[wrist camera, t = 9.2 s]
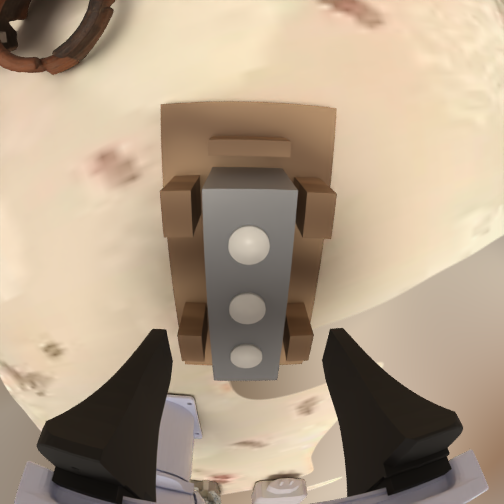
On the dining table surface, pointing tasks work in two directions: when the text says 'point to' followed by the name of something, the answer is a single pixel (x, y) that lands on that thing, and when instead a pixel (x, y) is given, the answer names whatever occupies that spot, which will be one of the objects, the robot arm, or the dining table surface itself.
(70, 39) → the brown open ring
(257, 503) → the charger
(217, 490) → the egg carton
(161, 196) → the rack
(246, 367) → the power strip
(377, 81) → the dining table surface
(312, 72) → the dining table surface
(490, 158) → the dining table surface
